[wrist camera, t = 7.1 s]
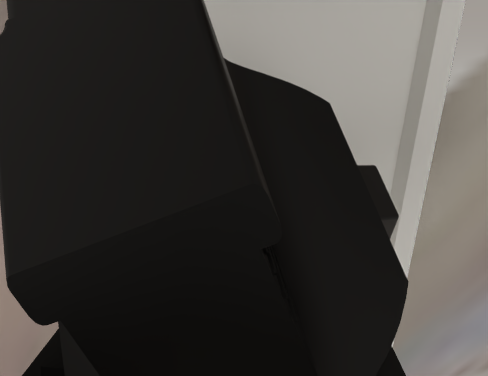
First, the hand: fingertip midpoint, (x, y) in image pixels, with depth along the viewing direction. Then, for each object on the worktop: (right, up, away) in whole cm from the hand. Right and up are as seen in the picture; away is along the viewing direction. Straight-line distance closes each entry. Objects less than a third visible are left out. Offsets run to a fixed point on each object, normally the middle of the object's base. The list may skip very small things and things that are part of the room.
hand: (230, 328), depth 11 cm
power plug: (-1, +6, -1) cm, 6 cm away
